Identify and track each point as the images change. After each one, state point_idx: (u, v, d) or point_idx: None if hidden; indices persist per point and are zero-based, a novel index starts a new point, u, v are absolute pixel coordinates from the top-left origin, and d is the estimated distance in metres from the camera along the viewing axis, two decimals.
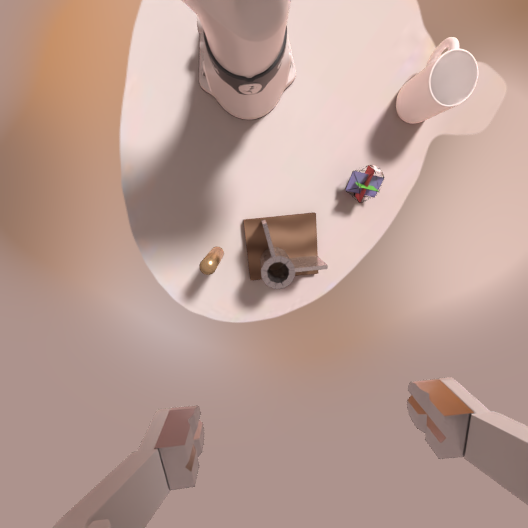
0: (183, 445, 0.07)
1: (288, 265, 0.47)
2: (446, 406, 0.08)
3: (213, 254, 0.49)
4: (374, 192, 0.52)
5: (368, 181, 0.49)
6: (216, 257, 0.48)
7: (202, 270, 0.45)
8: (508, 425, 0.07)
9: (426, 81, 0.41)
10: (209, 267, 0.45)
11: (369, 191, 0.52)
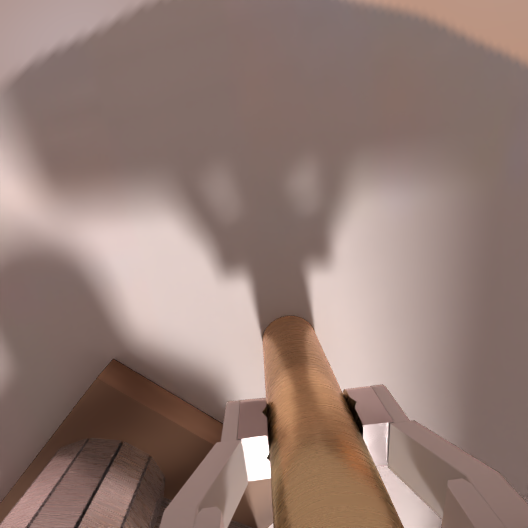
0: (266, 436, 0.07)
1: None
2: (368, 415, 0.08)
3: None
4: None
5: None
6: None
7: None
8: (421, 435, 0.07)
9: None
10: None
11: None
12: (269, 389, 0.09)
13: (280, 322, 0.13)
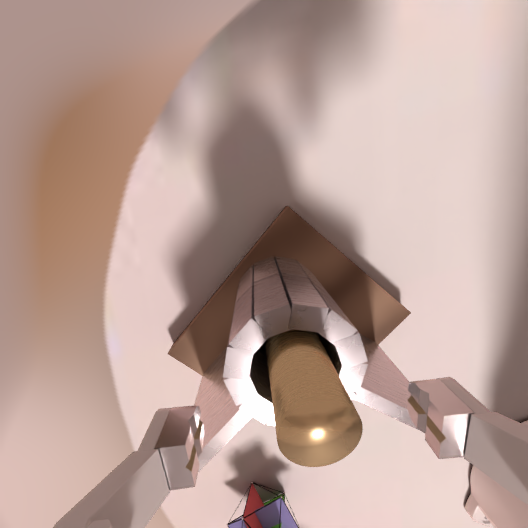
0: (183, 445, 0.07)
1: None
2: (446, 406, 0.08)
3: None
4: None
5: None
6: None
7: (329, 407, 0.08)
8: (507, 425, 0.07)
9: None
10: (311, 438, 0.08)
11: (244, 526, 0.25)
12: None
13: None
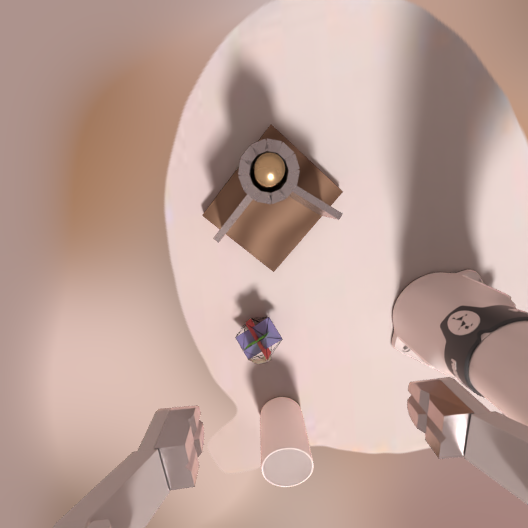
0: (183, 445, 0.07)
1: (265, 195, 0.27)
2: (446, 406, 0.08)
3: (273, 185, 0.28)
4: (240, 340, 0.41)
5: (260, 346, 0.39)
6: None
7: (272, 156, 0.23)
8: (508, 425, 0.07)
9: (304, 448, 0.38)
10: (266, 170, 0.24)
11: (246, 337, 0.40)
12: None
13: None
